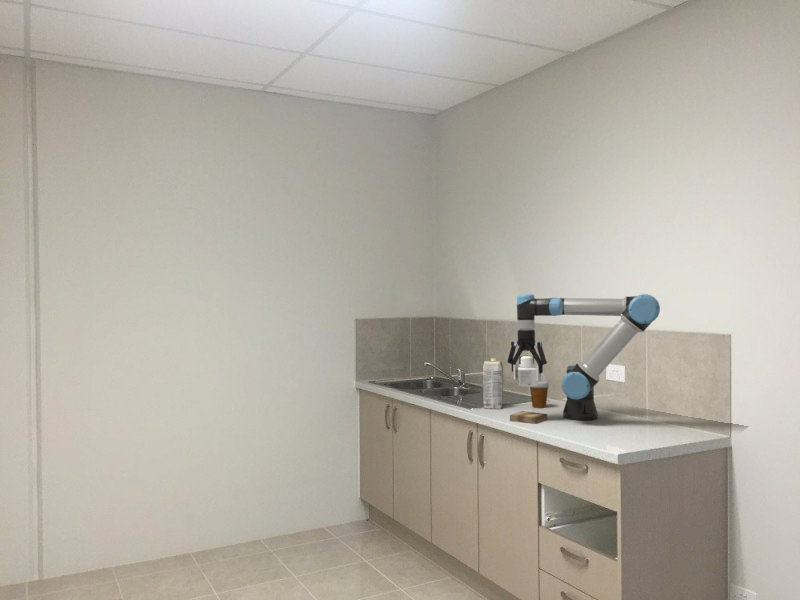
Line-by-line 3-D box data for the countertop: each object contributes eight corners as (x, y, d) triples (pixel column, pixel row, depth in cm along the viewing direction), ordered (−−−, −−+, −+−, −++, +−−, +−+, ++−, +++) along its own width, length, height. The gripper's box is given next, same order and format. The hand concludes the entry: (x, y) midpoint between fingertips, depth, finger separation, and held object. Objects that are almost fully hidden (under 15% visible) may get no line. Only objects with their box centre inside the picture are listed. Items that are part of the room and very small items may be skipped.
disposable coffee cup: (525, 405, 344) (525, 381, 343) (543, 405, 346) (543, 380, 346) (534, 409, 334) (534, 384, 334) (552, 408, 337) (552, 383, 336)
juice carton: (503, 407, 341) (503, 357, 340) (501, 409, 333) (501, 359, 333) (484, 406, 343) (484, 357, 343) (482, 409, 336) (482, 359, 335)
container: (517, 384, 311) (516, 355, 311) (534, 384, 310) (534, 354, 310) (519, 386, 303) (518, 356, 303) (537, 386, 303) (536, 356, 303)
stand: (547, 419, 307) (547, 413, 307) (535, 423, 298) (535, 417, 298) (522, 416, 315) (522, 410, 315) (509, 420, 305) (509, 414, 305)
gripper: (554, 329, 303) (555, 380, 303) (506, 328, 316) (507, 377, 316) (547, 330, 297) (548, 382, 297) (498, 329, 310) (499, 379, 310)
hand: (527, 380), depth 307 cm, fingers closed on container, 10 cm apart
